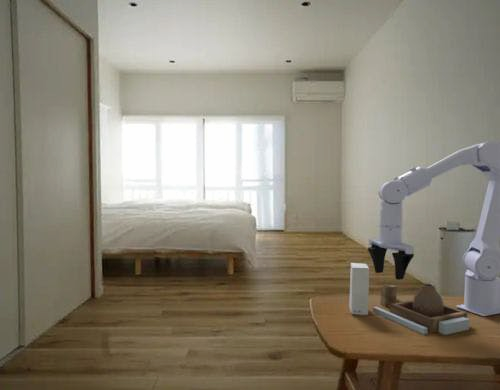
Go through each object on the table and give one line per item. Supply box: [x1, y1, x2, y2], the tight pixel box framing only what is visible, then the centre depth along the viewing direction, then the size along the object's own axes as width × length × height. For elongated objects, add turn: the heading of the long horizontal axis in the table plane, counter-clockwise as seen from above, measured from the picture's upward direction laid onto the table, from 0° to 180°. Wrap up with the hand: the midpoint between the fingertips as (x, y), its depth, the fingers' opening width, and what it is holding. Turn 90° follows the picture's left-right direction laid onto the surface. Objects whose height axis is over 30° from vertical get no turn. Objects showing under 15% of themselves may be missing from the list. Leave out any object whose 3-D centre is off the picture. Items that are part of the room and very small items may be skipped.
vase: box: [412, 283, 445, 318], centre depth 98 cm, size 7×7×9 cm
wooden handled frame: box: [380, 284, 468, 334], centre depth 101 cm, size 12×20×5 cm, turn 25°
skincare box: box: [348, 262, 370, 316], centre depth 104 cm, size 6×4×12 cm
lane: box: [372, 306, 470, 336], centre depth 98 cm, size 12×18×2 cm
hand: (389, 275), depth 109 cm, fingers open, 7 cm apart
